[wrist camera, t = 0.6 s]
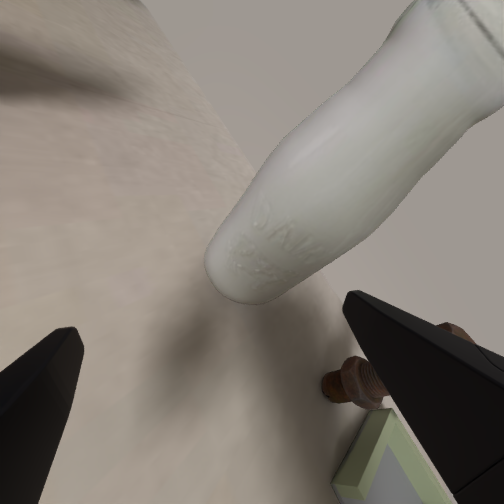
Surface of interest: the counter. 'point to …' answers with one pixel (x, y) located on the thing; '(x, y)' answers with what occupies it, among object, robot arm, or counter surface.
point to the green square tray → (385, 466)
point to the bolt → (365, 379)
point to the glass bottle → (362, 149)
